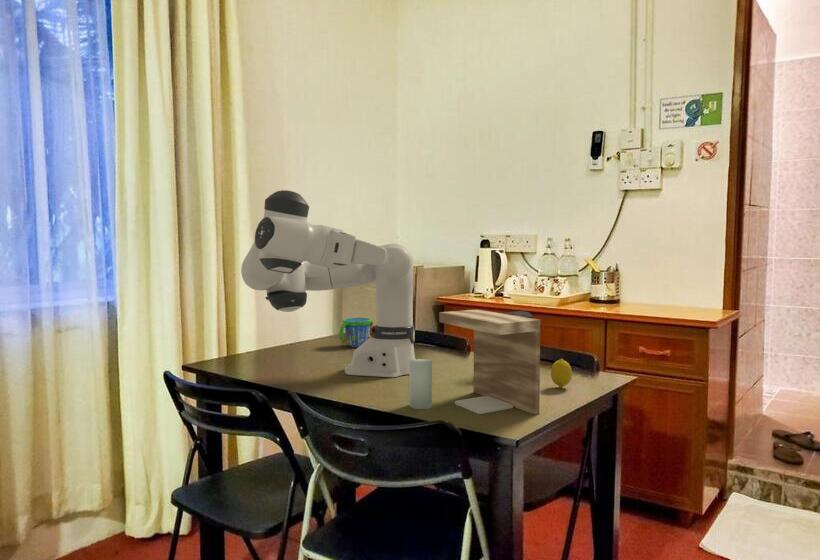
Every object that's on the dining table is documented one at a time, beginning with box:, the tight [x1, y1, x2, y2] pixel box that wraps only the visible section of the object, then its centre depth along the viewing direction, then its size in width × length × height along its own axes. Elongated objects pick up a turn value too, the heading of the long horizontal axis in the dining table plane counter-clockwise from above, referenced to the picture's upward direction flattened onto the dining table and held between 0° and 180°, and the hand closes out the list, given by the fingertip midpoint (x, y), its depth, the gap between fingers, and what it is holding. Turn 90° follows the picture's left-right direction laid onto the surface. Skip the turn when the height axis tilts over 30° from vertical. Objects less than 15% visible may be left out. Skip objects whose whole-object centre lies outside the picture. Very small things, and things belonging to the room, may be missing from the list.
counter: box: [438, 308, 541, 416], centre depth 148 cm, size 12×24×22 cm, turn 30°
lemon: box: [550, 358, 573, 389], centre depth 165 cm, size 6×6×8 cm
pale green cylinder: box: [408, 358, 433, 410], centre depth 148 cm, size 6×6×11 cm
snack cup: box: [338, 317, 374, 348], centre depth 230 cm, size 16×10×10 cm
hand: (384, 259), depth 142 cm, fingers open, 8 cm apart
